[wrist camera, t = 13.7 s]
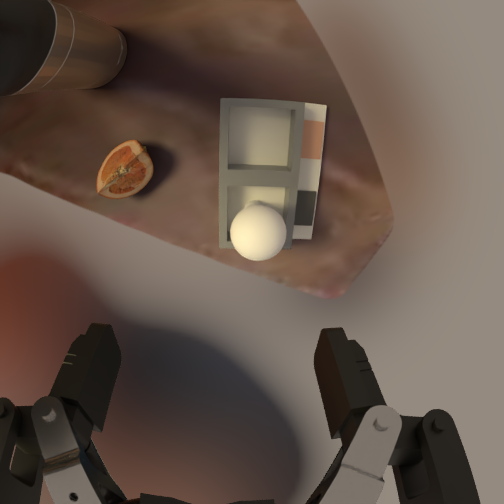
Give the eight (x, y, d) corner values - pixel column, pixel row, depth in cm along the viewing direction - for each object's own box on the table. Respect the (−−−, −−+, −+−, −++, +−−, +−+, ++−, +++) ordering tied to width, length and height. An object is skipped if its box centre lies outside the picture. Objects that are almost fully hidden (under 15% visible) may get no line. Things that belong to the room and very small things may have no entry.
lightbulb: (269, 179, 37) (283, 210, 28) (281, 220, 40) (296, 262, 31) (224, 193, 38) (221, 228, 28) (238, 232, 41) (240, 278, 31)
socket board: (220, 235, 42) (219, 248, 38) (222, 98, 32) (220, 98, 29) (309, 236, 43) (316, 249, 39) (324, 105, 33) (334, 106, 30)
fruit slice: (140, 126, 33) (127, 131, 29) (170, 165, 36) (161, 174, 32) (98, 165, 35) (82, 175, 31) (126, 200, 38) (114, 214, 34)
